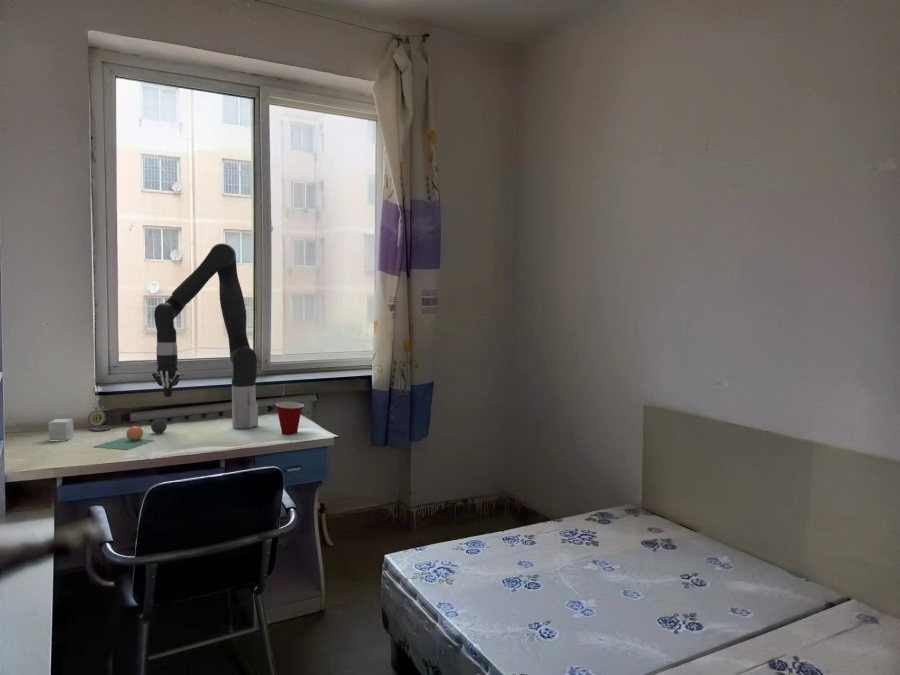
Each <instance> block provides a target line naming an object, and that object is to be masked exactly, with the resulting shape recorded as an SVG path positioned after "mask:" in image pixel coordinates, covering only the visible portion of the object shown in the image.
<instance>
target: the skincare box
mask: <svg viewBox="0 0 900 675" xmlns="http://www.w3.org/2000/svg"><path fill="white" fill-rule="evenodd" d="M47 425H48V441H49V440H60V441H59V442H62V441H61V440H68V439H70V438H72V437H74V438H75V436H74V435H75V432H74V431H75V430H74V419H73V418H55V419H53V420H51V421H49V422H47ZM72 439H73V438H72ZM70 440H71V439H70ZM68 441H69V440H68Z"/></svg>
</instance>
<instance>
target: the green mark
mask: <svg viewBox="0 0 900 675" xmlns="http://www.w3.org/2000/svg"><path fill="white" fill-rule="evenodd" d="M154 440H155V439H146V438H145V439H144V438H141V439H139V440H137V441H131V440H129V439H128V438H127V437H121V438H118V439H114V440H111V441H108V442H105V443H100V444H98V445H93V448H98V447H102V448H101V449H110V448H112V450H124V451H125V450H126V451H128V450H130V449H134V448H137V447H140V446H143V444H144V445H147V444H149V442H150V443H151V442H152V441H153V442H155V441H154ZM146 443H147V444H146Z"/></svg>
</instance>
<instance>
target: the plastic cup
mask: <svg viewBox="0 0 900 675" xmlns="http://www.w3.org/2000/svg"><path fill="white" fill-rule="evenodd" d="M275 406H276V410H277V413H278V421H279V426H280V431H281V434H282V435H283V434H294V435H296V434H295V433H297V434H298V431H299V425H300V419H301V414H302V410H303V408H304V406H305V404H303V403H302V402H301V403H300V402H297V401H281V402H280V401H278V402H276V403H275Z"/></svg>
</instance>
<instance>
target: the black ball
mask: <svg viewBox="0 0 900 675" xmlns="http://www.w3.org/2000/svg"><path fill="white" fill-rule="evenodd" d="M167 425H168V424H167V422H166V421H165V420H164V419H160V418H158V419H155V420H154V421H152V423H151V424H150V428H151V431H152V432H153V433H154V434H163V433H164V432H165V431H166V429H167V428H168V427H167Z"/></svg>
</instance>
